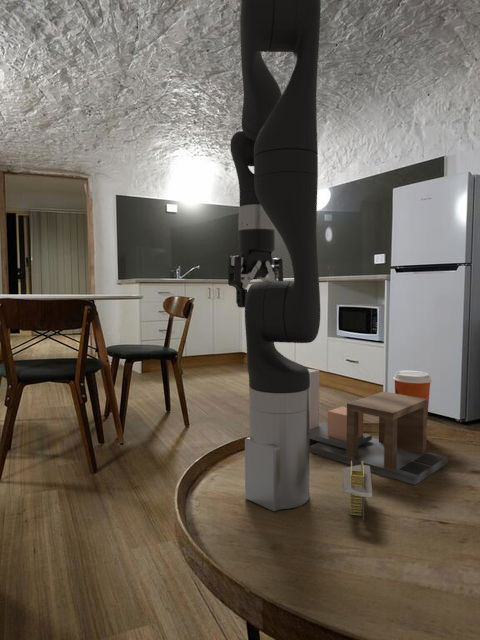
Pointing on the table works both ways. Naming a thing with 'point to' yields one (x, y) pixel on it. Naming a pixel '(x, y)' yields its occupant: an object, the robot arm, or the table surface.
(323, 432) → the sled
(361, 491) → the yellow ladder
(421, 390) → the paper cup
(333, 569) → the table surface
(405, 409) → the tunnel
